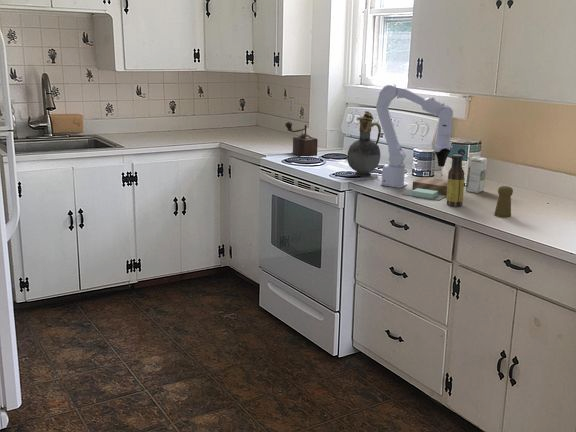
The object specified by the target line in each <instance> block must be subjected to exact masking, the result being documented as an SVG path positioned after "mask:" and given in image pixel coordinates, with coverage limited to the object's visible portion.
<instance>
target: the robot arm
mask: <svg viewBox="0 0 576 432" xmlns="http://www.w3.org/2000/svg"><path fill="white" fill-rule="evenodd" d="M395 98H396V99H406V100H408V101H411V102H412V103H415V104H416V105H420V107H421V110H422V111H425V112H426V113H428V114H431V115H433V116H435V117H438V123H437V130H436V131H437V132H436V144H435V147H434V150H433V151H434V153H435V155H436V159H437V165H438V167H442V168H443V167H445V164H446V162H447V159H448V156H449V154H450V153H451V149H452V148H453V145H452V142H451V140H452V139H451V137H452V123H453V120H452V119H453V117H454V116H453V115H454V110H453V108H452V107H451V106H450V105H449V104H447V105H446V103H444V102H442V103H441V102H440V101H437V100H435V97H427V98H424V97H423V96H420V95H419V94H416V93H415V92H413V91H411V90H409V89H407V88H405V87H402V86H401V85H396V84H395V83H388V84H387V85H384V86H383V88H381V90H380V92H379V93H378V98H377V102H376V105H375V109H376V112H377V115H378V119H379V122H380V126H381V130H382V131H383V134H384V139H385V142H386V145H387V148H388V155H389V157H388V161H389V163H388V164H387V163H386V164H384V165H383V166H382V170H381V181H380V186H385V187H391V188H392V187H393V188H399V189H400V188H403V187H406V186H407V185H408V183H405V173H406V164H405V163H404V161H405V159H406V153H405V151H404V150H403V149H402V146H401V144H400V142H399V140H398V136H397V133H396V130H395V127H394V124H393V120H392V118H391V114H390V109H389V106H390V105H391V103H392V101H393V100H394V99H395Z"/></svg>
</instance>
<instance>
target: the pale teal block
mask: <svg viewBox="0 0 576 432" xmlns="http://www.w3.org/2000/svg"><path fill="white" fill-rule="evenodd" d="M411 190H412V189H411ZM413 196H418V197H417V198H420V197H425V198H424V199H426V198H431V199H430V200H433V198H435V197H437V196H438V191H434V190H427V189H420V188H417V189H415V190H412V196H411V197H413Z"/></svg>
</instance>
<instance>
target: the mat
mask: <svg viewBox="0 0 576 432" xmlns="http://www.w3.org/2000/svg"><path fill="white" fill-rule="evenodd" d="M401 195H403V196H407V197H414V198H421V199H428V200H433V201H434V200H435V201H441V200H442V199H444V198H447V196H446V195H440V194H438V196H437V197H435V198H433V199H431V198H425V197H418V196H412V189H411V190H408V191H406V192H403V193H401Z"/></svg>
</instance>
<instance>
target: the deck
mask: <svg viewBox="0 0 576 432" xmlns="http://www.w3.org/2000/svg"><path fill="white" fill-rule="evenodd" d="M447 184H448V179H440V178H435V177H428V176H427V177H425V176H423V177H421V178H418V179H416V180H413V181H412V189H411V190H415V189H417V188H420V189H427V190H434V191H438V194H440V195H446V197H447Z"/></svg>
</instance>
